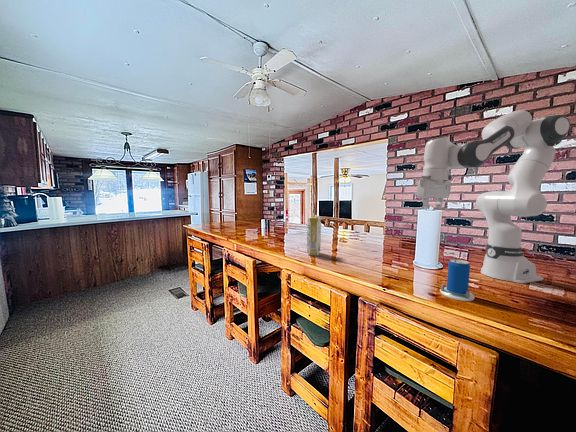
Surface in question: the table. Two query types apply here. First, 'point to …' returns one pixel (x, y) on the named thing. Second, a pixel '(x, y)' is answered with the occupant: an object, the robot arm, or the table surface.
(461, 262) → the beverage can
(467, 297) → the pin cradle
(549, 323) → the table surface
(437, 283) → the table surface
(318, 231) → the juice carton
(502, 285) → the table surface
